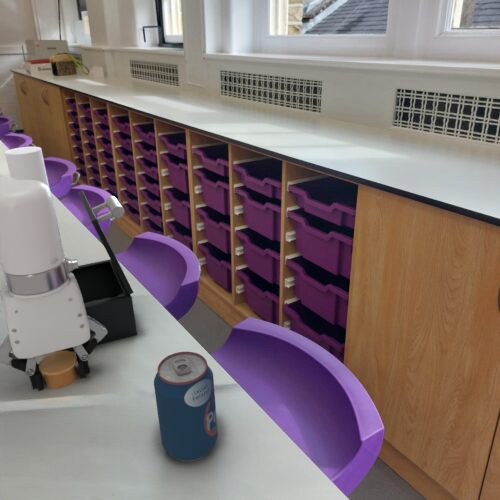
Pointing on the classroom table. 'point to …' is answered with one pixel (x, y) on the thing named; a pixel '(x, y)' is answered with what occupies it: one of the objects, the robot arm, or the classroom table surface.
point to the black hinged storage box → (107, 311)
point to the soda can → (186, 405)
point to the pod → (59, 368)
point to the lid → (116, 212)
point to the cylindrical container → (27, 164)
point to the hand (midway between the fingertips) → (63, 383)
